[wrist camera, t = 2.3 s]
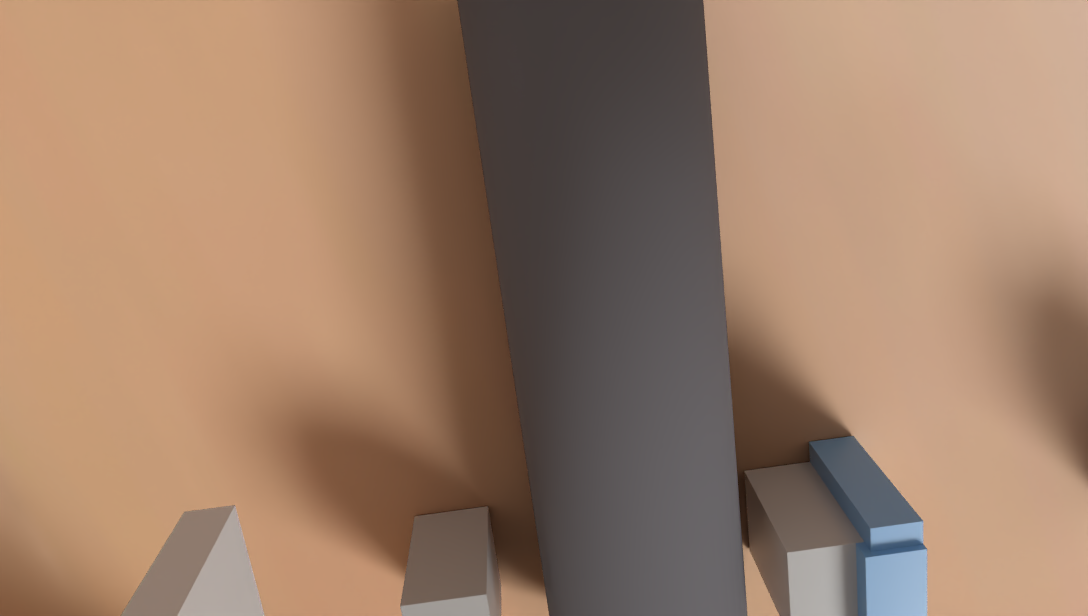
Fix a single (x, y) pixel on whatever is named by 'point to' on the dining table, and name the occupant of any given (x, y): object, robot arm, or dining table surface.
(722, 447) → the dark gray cylinder
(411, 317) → the dining table surface
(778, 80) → the dining table surface
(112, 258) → the dining table surface
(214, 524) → the robot arm
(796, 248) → the dining table surface
